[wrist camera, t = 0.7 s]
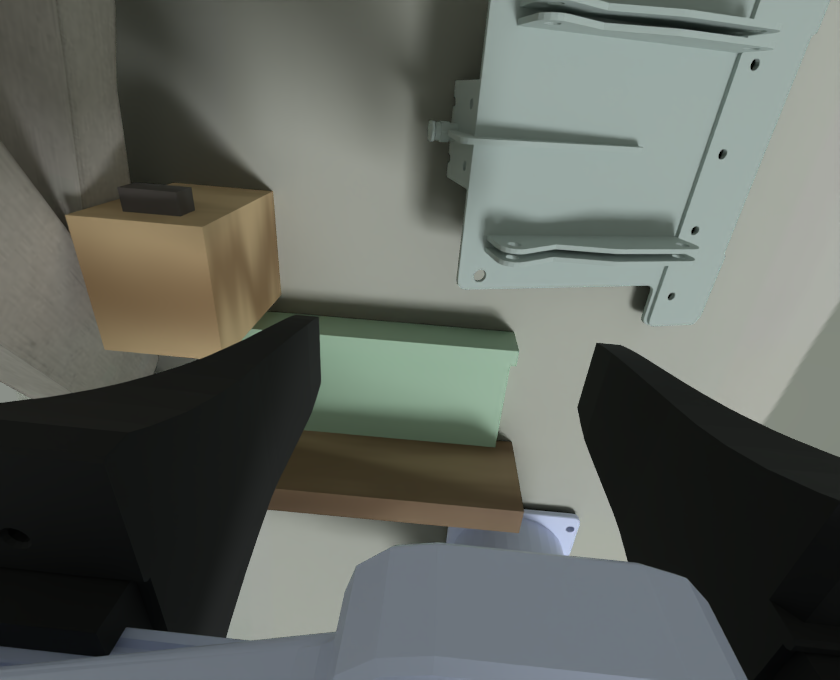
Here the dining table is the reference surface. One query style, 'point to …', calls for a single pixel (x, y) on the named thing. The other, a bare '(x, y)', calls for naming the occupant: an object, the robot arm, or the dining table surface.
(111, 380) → the white letter a
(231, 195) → the cabinet block
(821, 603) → the robot arm
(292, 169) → the dining table surface
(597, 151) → the metal bracket
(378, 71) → the dining table surface
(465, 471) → the wall board
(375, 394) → the cleat ledge
